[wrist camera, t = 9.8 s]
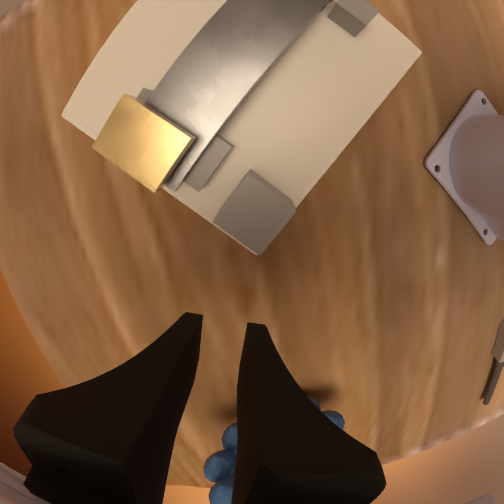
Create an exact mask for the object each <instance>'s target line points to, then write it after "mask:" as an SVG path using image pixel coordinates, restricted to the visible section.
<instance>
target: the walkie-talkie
mask: <svg viewBox="0 0 504 504" xmlns="http://www.w3.org/2000/svg"><path fill="white" fill-rule="evenodd" d="M492 355H493V356H494V357H495V358H496V360H495V367H494V370H493V373H492V376H491V379H490V382H489V385H488V390H487V393H486V396H485V398H484V401H483V404H484V405H487V404H488V403H489V402H490V400H491V397H492V395H493V392H494V389H495V387H496V384H497V381H498V379H499V376H500V373H501V370H502V367H503V366H504V318H503V319H502V321H501V322H500V326H499V330H498V334H497V338H496V342H495V346H494V347H493V350H492Z"/></svg>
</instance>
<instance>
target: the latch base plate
mask: <svg viewBox="0 0 504 504" xmlns="http://www.w3.org/2000/svg"><path fill="white" fill-rule="evenodd" d="M226 1H227V0H137V2H136V3H135V4H134V5H133V6H132V8H131V9H130V10H129V11H128V13H127V14H126V15H125V16H124V18H123V19H122V20H121V22H120V23H119V24H118V25H117V27H116V28H115V29H114V31H113V32H112V34H111V35H110V36H109V38H108V39H107V41H106V42H105V43H104V45H103V46H102V48H101V49H100V51H99V52H98V54H97V55H96V57H95V58H94V60H93V61H92V63H91V64H90V66H89V68H88V69H87V71H86V72H85V74H84V76H83V77H82V79H81V81H80V82H79V84H78V86H77V87H76V89H75V91H74V93H73V94H72V96H71V98H70V100H69V102H68V103H67V105H66V107H65V109H64V111H63V113H62V115H61V116H62V117H63V118H65V119H66V120H68V121H69V122H70V123H72V124H73V125H75V126H76V127H77V128H79V129H80V130H81V131H83V132H84V133H86V134H87V135H88V136H90V137H91V138H93V139H94V140H96V139H97V137H98V135H99V133H100V132H101V130H102V128H103V126H104V125H105V123H106V121H107V119H108V118H109V116H110V114H111V113H112V111H113V109H114V108H115V106H116V105H117V103H118V101H119V100H120V98H121V97H122V95H123V94H128V95H132V96H134V97H136V98H137V99H139V100H140V101H142V102H144V103H145V102H146V101H147V99H148V98H149V96H150V95H151V93H152V92H153V91H154V89H155V88H156V86H157V85H158V83H159V82H160V81H161V79H162V78H163V77H164V75H165V74H166V72H167V71H168V70H169V68H170V67H171V66H172V64H173V63H174V62H175V61H176V59H177V58H178V57H179V55H180V54H181V53H182V52H183V50H184V49H185V48H186V47H187V45H188V44H189V43H190V42H191V40H192V39H193V38H194V37H195V36H196V34H197V33H198V32H199V31H200V30H201V29H202V27H203V26H204V25H205V24H206V23H207V22H208V21H209V19H210V18H211V17H212V16H213V15H214V14H215V13H216V12H217V11H218V9H219V8H220V7H221V6H222V5H223V4H224V3H225V2H226ZM379 12H380V11H379V10H378V9H376V8H375V7H374V6H373V5H371V4H370V3H369V2H367V1H366V0H333V1H332V2H331V3H327V5H326V7H325V9H324V10H323V11H322V12H321V13H320V14H319V15H318V16H317V17H316V18H315V19H314V20H313V21H312V22H311V23H310V24H309V25H308V26H307V27H306V28H305V30H304V31H303V32H302V33H301V34H300V35H299V36H298V37H297V38H296V39H295V40H294V42H293V43H292V44H291V45H290V46H289V47H288V48H287V49H286V50H285V52H284V53H283V54H282V55H281V56H280V57H279V58H278V60H277V61H276V62H275V63H274V64H273V65H272V67H271V68H270V69H269V70H268V71H267V73H266V74H265V75H264V76H263V77H262V78H261V80H260V81H259V82H258V83H257V85H256V86H255V87H254V88H253V89H252V91H251V92H250V93H249V94H248V96H247V97H246V98H245V99H244V101H243V102H242V103H241V104H240V106H239V107H238V108H237V110H236V111H235V112H234V113H233V115H232V116H231V117H230V119H229V120H228V121H227V122H226V124H225V125H224V126H223V128H222V129H221V130H220V132H219V133H218V134H217V136H216V137H215V138H214V140H213V141H212V142H211V144H210V145H209V147H208V148H207V149H206V151H205V152H204V153H203V155H202V156H201V158H200V159H199V160H198V162H197V163H196V165H195V166H194V168H193V169H192V170H191V172H190V173H189V175H188V176H187V178H186V179H185V181H184V182H183V184H182V185H181V187H180V188H179V189H178V190H177V191H175V192H173V191H172V190H170V189H169V188H167V187H166V186H165V185H164V186H163V189H164V190H165V191H167V192H168V193H169V194H171V195H172V196H174V197H175V198H176V199H178V200H179V201H181V202H182V203H183V204H185V205H186V206H188V207H189V208H190V209H192V210H193V211H195V212H196V213H197V214H199V215H200V216H202V217H203V218H204V219H206V220H207V221H209V222H210V223H211V224H213V225H214V226H216V227H217V228H218V229H220V230H221V231H223V232H224V233H225V234H227V235H228V236H230V237H231V238H232V239H234V240H235V241H237V242H238V243H239V244H241V245H242V246H244V247H245V248H246V249H248V250H249V251H251V252H252V253H253V254H255V255H256V256H257V255H259V256H260V255H261V254H262V253H263V252H264V251H265V249H266V248H267V247H268V246H269V245H270V243H271V242H272V241H273V240H274V238H275V237H276V236H277V235H278V234H279V232H280V231H281V230H282V229H283V228H284V226H285V225H286V224H287V223H288V221H289V220H290V219H291V218H292V217H293V215H294V214H295V213H296V212H297V210H296V207H297V206H298V205H299V204H300V203H301V201H302V200H303V199H304V198H305V196H306V195H307V194H308V193H309V192H310V190H311V189H312V188H313V187H314V185H315V184H316V183H317V182H318V181H319V179H320V178H321V177H322V176H323V174H324V173H325V172H326V171H327V170H328V168H329V167H330V166H331V165H332V163H333V162H334V161H335V160H336V158H337V157H338V156H339V155H340V154H341V152H342V151H343V150H344V149H345V147H346V146H347V145H348V144H349V143H350V141H351V140H352V139H353V138H354V136H355V135H356V134H357V133H358V131H359V130H360V129H361V128H362V126H363V125H364V124H365V123H366V122H367V120H368V119H369V118H370V117H371V115H372V114H373V113H374V112H375V110H376V109H377V108H378V107H379V105H380V104H381V103H382V102H383V101H384V99H385V98H386V97H387V96H388V94H389V93H390V92H391V91H392V89H393V88H394V87H395V86H396V84H397V83H398V82H399V81H400V79H401V78H402V77H403V76H404V74H405V73H406V72H407V71H408V69H409V68H410V67H411V66H412V65H413V63H414V62H415V61H416V60H417V58H418V57H419V56H420V55H421V53H422V52H421V51H420V50H419V49H418V48H417V47H416V46H415V45H414V44H413V43H412V42H411V41H410V40H409V39H408V38H406V37H405V36H404V35H403V34H402V33H401V32H400V31H399V30H398V29H397V28H395V27H394V26H393V25H392V24H391V23H390V22H388V21H387V20H386V19H385V18H384V17H382V16H381V15H380V14H379Z"/></svg>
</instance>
